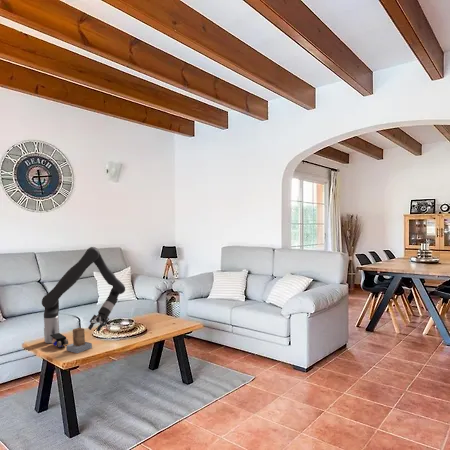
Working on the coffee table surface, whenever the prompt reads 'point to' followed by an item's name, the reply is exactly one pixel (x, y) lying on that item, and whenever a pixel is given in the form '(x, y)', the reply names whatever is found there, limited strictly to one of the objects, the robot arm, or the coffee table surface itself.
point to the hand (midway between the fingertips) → (93, 330)
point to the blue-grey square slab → (78, 347)
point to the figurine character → (59, 340)
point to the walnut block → (78, 336)
